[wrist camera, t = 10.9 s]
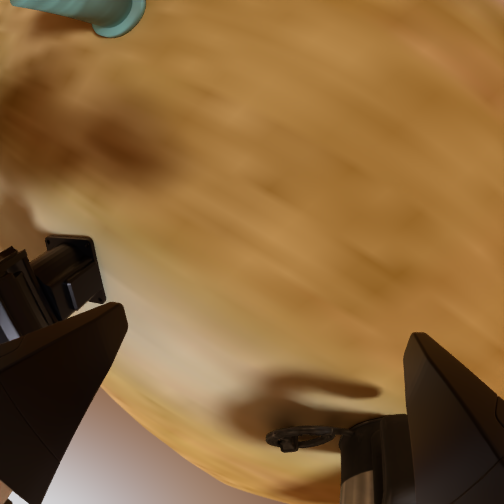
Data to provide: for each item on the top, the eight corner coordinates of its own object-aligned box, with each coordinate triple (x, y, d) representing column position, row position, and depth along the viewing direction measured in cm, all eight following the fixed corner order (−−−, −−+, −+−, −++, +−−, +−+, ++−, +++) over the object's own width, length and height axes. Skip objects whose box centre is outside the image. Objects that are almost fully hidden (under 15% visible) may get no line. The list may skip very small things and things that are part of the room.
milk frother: (417, 445, 28) (427, 548, 15) (299, 468, 33) (282, 564, 20) (410, 376, 24) (435, 522, 11) (256, 410, 29) (221, 537, 16)
